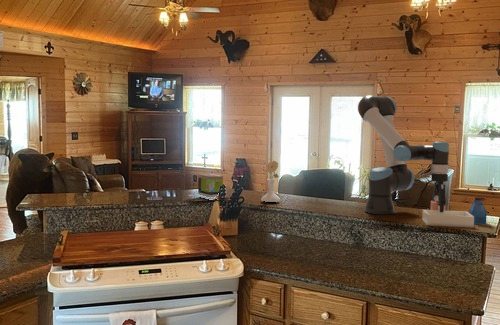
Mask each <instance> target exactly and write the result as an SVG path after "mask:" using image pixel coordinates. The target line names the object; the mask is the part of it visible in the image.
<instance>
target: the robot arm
mask: <svg viewBox="0 0 500 325" xmlns="http://www.w3.org/2000/svg"><path fill="white" fill-rule="evenodd" d="M397 107H398V106H397V104H396V101H395V99H393V98H392V97H390V96H385V95H381V96H380V95H365V96H364V97H362V98H361V99H360V100H359V102H358V105H357V112H358V114H359V116H360V118H362V120H363V121H364V122H367V123H369V125H370V126H371V127H372V128H373V129H374V130H375V131H376V133H377V134H378V135H379V138H380V143H381V146H382V150H383V155H384V158H385V163H386V166H385V167H384V166H380V167H375V168H372V169H371V170H369V175H368V198H367V200H366V203H365V206H364V212H365V211H366V212H365V213H367V212H368V214H371V213H372V214H373V215H384V214H385V215H394V214H395V207H394V202H393V198H392V193H393V192H403V191H407V190H409V189H411V188H412V187H413V185H414V183H415V174H414V172H413V171H412V170H411V169H410V168H409V167H408V165H407V163H405V162H407V161H431V177H430V178H431V181H432V182H433V191H432V201H435V200H434V197H435V196H436V195H438V200H439V204H438V215H444V209H445V205H446V206H447V200H446V198H447V197H446V185H445V184H444V182H445V183H446V182H448V181H449V174H448V173H449V169H450V166H449V158H450V157H449V155H450V144H449V142H448V141H433V142H432V145H426V144H425V145H424V144H415V145H410V144H409V143H408V142H407V141H406V140H405V139H404V138H403V137H402V136H401V134H400V133H399V132H398V131H397V130H396V128H395V124H394V119H395V114H396V112H397Z"/></svg>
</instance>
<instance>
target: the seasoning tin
mask: <svg viewBox="0 0 500 325" xmlns="http://www.w3.org/2000/svg"><path fill="white" fill-rule="evenodd" d="M438 204H439V203H437V202H435V201H433V200H430V208H429V210H438ZM444 211H447V204H446V205H445V209H444Z"/></svg>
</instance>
